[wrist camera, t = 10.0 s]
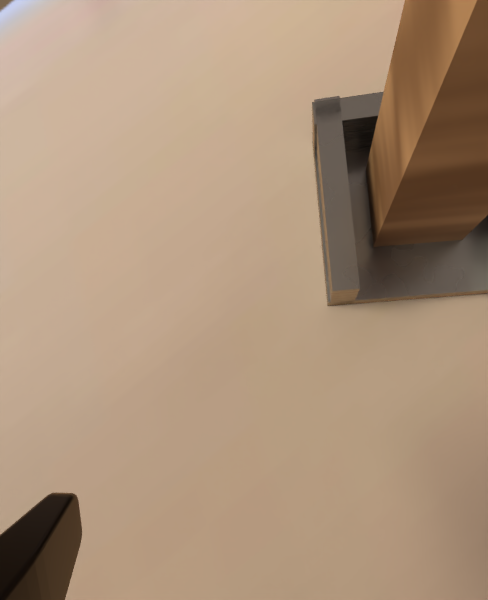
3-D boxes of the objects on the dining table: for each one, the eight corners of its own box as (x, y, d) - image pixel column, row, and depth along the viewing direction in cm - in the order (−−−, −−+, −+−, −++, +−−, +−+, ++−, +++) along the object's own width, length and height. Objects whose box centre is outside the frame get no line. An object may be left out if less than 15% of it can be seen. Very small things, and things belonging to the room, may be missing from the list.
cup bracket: (522, 290, 18) (564, 271, 15) (327, 305, 19) (329, 291, 16) (491, 118, 20) (523, 68, 17) (312, 142, 21) (312, 99, 18)
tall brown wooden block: (462, 239, 18) (888, -177, 5) (373, 246, 19) (522, -108, 5) (451, 160, 19) (796, -406, 5) (365, 169, 19) (480, -324, 6)
